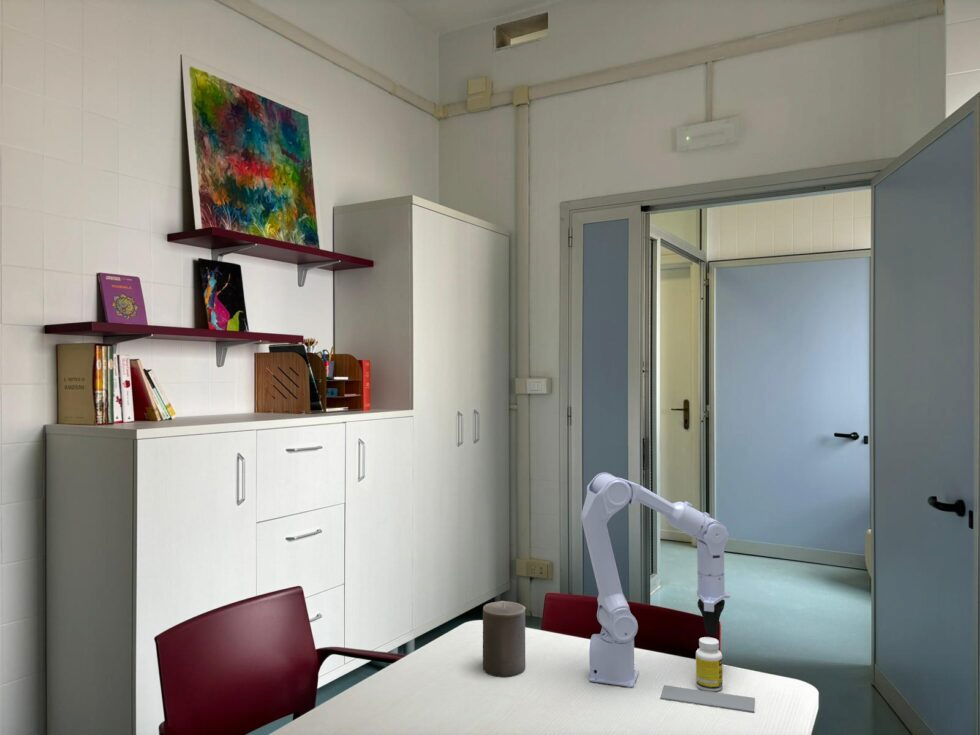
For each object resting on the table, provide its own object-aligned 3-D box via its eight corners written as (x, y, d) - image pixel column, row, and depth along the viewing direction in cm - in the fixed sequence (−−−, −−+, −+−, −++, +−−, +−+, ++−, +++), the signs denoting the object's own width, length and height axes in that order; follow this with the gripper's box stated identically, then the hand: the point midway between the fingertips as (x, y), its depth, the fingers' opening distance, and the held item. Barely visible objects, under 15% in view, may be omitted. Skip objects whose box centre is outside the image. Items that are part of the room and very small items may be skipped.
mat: (660, 698, 147) (660, 697, 147) (663, 686, 152) (663, 685, 152) (754, 712, 141) (754, 711, 141) (754, 699, 146) (754, 697, 146)
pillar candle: (488, 679, 157) (488, 610, 157) (478, 661, 167) (478, 596, 167) (531, 675, 159) (530, 607, 159) (519, 657, 169) (519, 593, 169)
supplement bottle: (724, 693, 149) (723, 646, 149) (697, 691, 150) (696, 644, 150) (721, 682, 154) (720, 636, 154) (695, 680, 155) (694, 634, 155)
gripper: (728, 583, 152) (729, 647, 152) (731, 565, 166) (731, 624, 166) (693, 580, 155) (694, 643, 155) (699, 562, 168) (700, 621, 168)
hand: (711, 633), depth 160 cm, fingers closed
